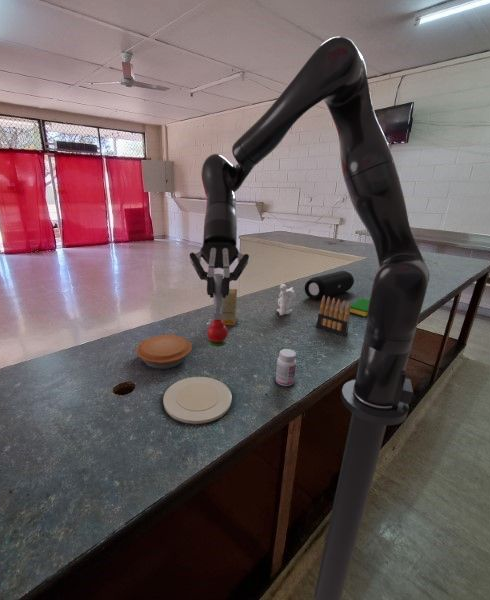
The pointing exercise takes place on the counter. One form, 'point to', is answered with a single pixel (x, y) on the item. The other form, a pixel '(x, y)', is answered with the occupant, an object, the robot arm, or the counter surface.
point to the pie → (164, 351)
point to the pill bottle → (286, 367)
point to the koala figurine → (285, 299)
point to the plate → (197, 400)
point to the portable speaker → (329, 284)
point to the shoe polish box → (229, 308)
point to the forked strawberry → (217, 315)
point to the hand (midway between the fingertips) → (218, 296)
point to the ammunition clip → (334, 316)
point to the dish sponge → (360, 307)
